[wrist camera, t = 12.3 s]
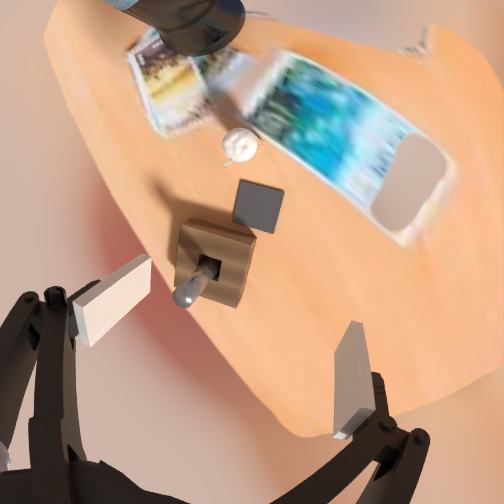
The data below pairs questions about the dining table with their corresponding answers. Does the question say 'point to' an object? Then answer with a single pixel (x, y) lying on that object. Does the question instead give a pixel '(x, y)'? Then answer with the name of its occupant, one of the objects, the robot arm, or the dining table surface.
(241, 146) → the milkshake
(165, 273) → the dining table surface
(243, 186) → the mat
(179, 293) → the pin
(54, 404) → the robot arm
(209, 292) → the hole block
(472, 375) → the dining table surface
